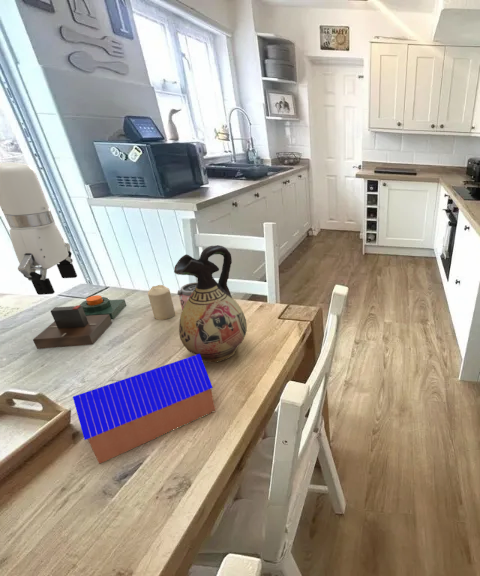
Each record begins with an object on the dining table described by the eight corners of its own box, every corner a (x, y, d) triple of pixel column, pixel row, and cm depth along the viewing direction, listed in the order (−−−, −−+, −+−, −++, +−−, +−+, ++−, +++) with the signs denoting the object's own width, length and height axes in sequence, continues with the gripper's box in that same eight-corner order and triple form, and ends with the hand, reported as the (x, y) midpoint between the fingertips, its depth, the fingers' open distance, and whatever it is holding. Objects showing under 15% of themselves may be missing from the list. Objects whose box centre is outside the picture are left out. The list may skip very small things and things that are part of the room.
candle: (166, 321, 98) (158, 291, 94) (150, 318, 99) (141, 289, 95) (179, 312, 103) (172, 284, 99) (163, 310, 104) (156, 281, 100)
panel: (37, 349, 83) (32, 339, 82) (62, 326, 93) (58, 316, 91) (92, 344, 86) (89, 334, 85) (112, 322, 96) (109, 313, 94)
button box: (69, 322, 94) (64, 310, 93) (85, 307, 102) (81, 296, 100) (113, 319, 97) (109, 308, 96) (126, 305, 105) (123, 294, 103)
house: (217, 411, 69) (208, 368, 64) (97, 466, 57) (74, 418, 52) (200, 380, 77) (191, 340, 72) (91, 422, 65) (71, 377, 60)
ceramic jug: (199, 380, 77) (172, 264, 64) (177, 350, 86) (150, 243, 73) (265, 352, 88) (254, 248, 76) (240, 328, 98) (226, 232, 85)
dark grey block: (57, 328, 86) (49, 310, 84) (62, 324, 88) (54, 306, 86) (84, 326, 88) (77, 308, 86) (88, 323, 90) (81, 304, 87)
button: (85, 306, 96) (83, 301, 95) (91, 300, 99) (89, 295, 99) (99, 305, 97) (97, 300, 96) (105, 300, 100) (103, 295, 99)
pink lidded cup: (181, 318, 100) (172, 283, 95) (210, 311, 105) (204, 277, 100) (188, 332, 94) (180, 295, 89) (219, 323, 99) (213, 288, 94)
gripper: (36, 211, 82) (61, 272, 89) (-21, 230, 67) (16, 302, 74) (71, 211, 84) (93, 271, 91) (24, 229, 69) (55, 300, 76)
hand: (58, 285), depth 83 cm, fingers open, 9 cm apart
